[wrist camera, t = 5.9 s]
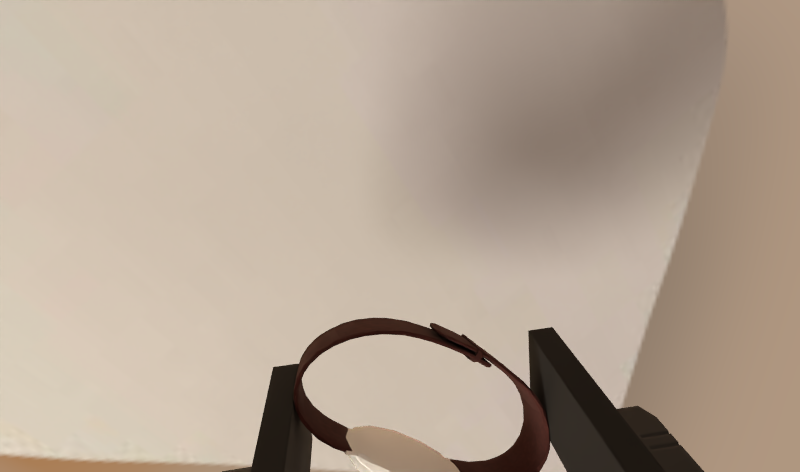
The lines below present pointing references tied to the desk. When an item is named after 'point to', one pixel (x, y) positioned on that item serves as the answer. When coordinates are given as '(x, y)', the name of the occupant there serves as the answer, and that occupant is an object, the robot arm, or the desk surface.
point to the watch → (402, 455)
